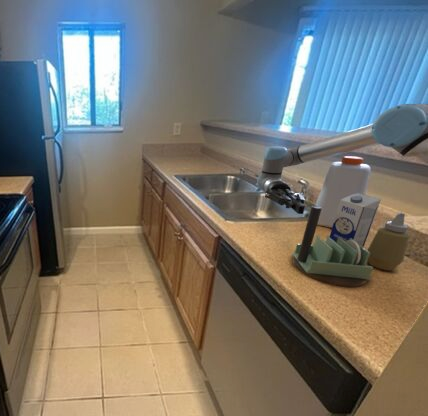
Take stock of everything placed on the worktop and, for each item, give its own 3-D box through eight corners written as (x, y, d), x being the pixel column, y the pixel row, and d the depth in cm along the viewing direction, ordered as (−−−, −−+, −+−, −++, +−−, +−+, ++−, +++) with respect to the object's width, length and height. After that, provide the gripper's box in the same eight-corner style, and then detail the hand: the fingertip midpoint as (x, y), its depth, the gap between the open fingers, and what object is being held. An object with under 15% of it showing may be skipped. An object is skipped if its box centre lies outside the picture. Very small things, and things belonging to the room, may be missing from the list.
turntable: (364, 265, 86) (365, 263, 86) (369, 295, 73) (370, 292, 73) (295, 248, 97) (296, 246, 97) (289, 272, 84) (290, 269, 84)
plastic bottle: (308, 224, 116) (326, 158, 106) (313, 213, 126) (330, 152, 116) (355, 234, 107) (380, 163, 96) (356, 221, 117) (379, 156, 107)
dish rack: (348, 259, 88) (367, 204, 81) (370, 279, 78) (395, 218, 71) (289, 254, 92) (303, 200, 85) (304, 272, 82) (321, 213, 75)
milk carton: (361, 254, 93) (382, 198, 85) (346, 257, 91) (365, 200, 84) (340, 244, 99) (357, 192, 92) (325, 247, 98) (341, 194, 90)
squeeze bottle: (403, 276, 81) (427, 220, 75) (367, 268, 85) (387, 215, 78) (393, 262, 88) (415, 210, 81) (360, 256, 91) (378, 206, 85)
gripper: (292, 199, 112) (321, 222, 90) (257, 197, 115) (277, 219, 93) (297, 181, 109) (327, 200, 88) (261, 179, 112) (281, 198, 91)
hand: (301, 210), depth 90 cm, fingers closed
